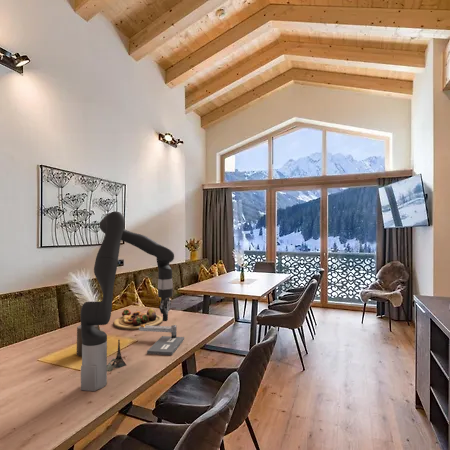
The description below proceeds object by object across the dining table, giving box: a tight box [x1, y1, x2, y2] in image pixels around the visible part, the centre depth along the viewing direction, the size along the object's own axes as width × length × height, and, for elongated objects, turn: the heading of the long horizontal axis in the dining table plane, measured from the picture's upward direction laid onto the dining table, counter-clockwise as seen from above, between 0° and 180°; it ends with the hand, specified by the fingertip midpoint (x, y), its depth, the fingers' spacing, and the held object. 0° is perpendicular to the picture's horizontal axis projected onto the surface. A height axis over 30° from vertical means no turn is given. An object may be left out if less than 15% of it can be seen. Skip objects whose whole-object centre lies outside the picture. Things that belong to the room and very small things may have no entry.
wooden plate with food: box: [113, 307, 164, 331], centre depth 209 cm, size 32×32×8 cm
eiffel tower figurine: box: [107, 339, 127, 373], centre depth 143 cm, size 15×10×13 cm
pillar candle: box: [75, 324, 99, 358], centre depth 157 cm, size 10×10×15 cm
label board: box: [146, 335, 185, 356], centre depth 165 cm, size 22×13×2 cm, turn 172°
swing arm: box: [138, 324, 177, 338], centre depth 176 cm, size 21×4×6 cm, turn 81°
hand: (165, 320), depth 161 cm, fingers closed
